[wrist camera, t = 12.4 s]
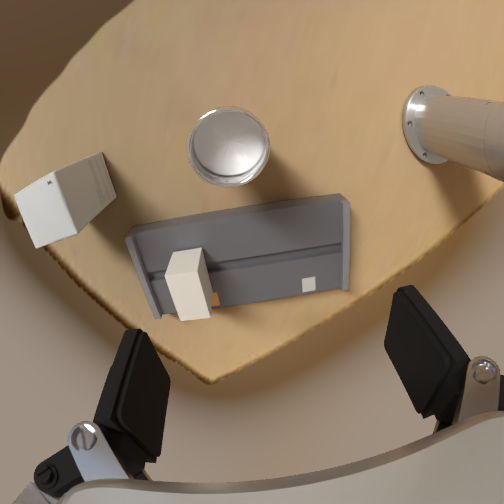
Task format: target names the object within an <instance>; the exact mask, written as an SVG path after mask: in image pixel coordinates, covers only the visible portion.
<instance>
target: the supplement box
mask: <svg viewBox="0 0 504 504" xmlns="http://www.w3.org/2000/svg"><path fill="white" fill-rule="evenodd" d="M14 197H15V199H16V202H17V204H18V207H19V210H20V212H21V215H22V217H23V220H24V222H25V225H26V227H27V229H28V232H29V234H30V236H31V238H32V240H33V243H34V245H35V247H36V248H39V247H42V246H44V245H47V244H50V243H53V242H56V241H59V240H62V239H65V238H69V237H72V236H75V235H78V234H79V232H80V231H81V230H82V229H83V228H84V227H85V226H86V225H87V224H88V223H89V222H90V221H91V220H92V219H93V218H95V217H96V216H97V215H98V214H99V213H100V212H101V211H102V210H103V209H104V208H105V207H107V206H108V205H109V204H110V203H111V202H112V201H113V200H114V199H115V198H116V197H117V196H116V194H115V191H114V188H113V185H112V182H111V179H110V176H109V173H108V170H107V167H106V164H105V161H104V158H103V154H102V152H99V153H96V154H93V155H91V156H88V157H86V158H84V159H81V160H79V161H76V162H74V163H72V164H69V165H67V166H65V167H63V168H60V169H58V170H56V171H54V172H52V173H50V174H48V175H46V176H44V177H42V178H40V179H39V180H37V181H35V182H33V183H32V184H30V185H29V186H27V187H25V188H24V189H22V190H21V191H19V192H18V193H16V194H15V195H14Z"/></svg>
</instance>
